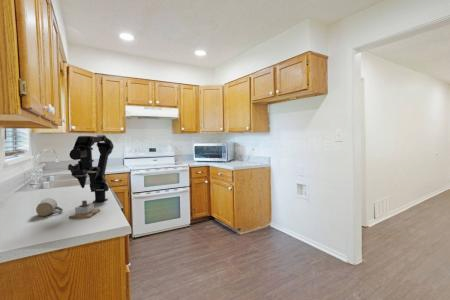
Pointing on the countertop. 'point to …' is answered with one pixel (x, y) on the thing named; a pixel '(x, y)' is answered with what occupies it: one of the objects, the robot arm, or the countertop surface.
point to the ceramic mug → (48, 207)
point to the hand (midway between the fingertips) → (87, 186)
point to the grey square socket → (84, 209)
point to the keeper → (84, 204)
